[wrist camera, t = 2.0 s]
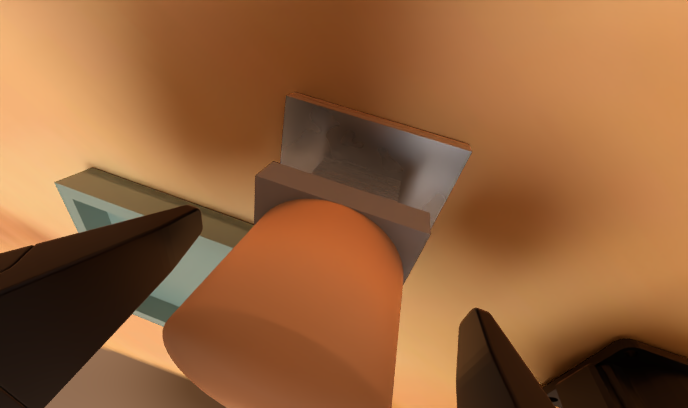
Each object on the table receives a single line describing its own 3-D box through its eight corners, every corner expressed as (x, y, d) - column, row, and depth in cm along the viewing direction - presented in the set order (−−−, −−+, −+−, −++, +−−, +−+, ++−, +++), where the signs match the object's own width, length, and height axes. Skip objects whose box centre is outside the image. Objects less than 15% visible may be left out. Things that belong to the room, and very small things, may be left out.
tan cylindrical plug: (430, 212, 7) (434, 384, 4) (380, 310, 10) (354, 466, 6) (273, 161, 8) (138, 269, 4) (265, 267, 11) (179, 390, 7)
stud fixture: (468, 144, 10) (489, 193, 7) (404, 268, 14) (398, 335, 11) (294, 92, 10) (239, 114, 7) (281, 225, 14) (240, 276, 11)
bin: (268, 230, 15) (248, 253, 13) (260, 336, 21) (247, 361, 20) (92, 167, 16) (54, 182, 14) (136, 286, 22) (113, 306, 21)
